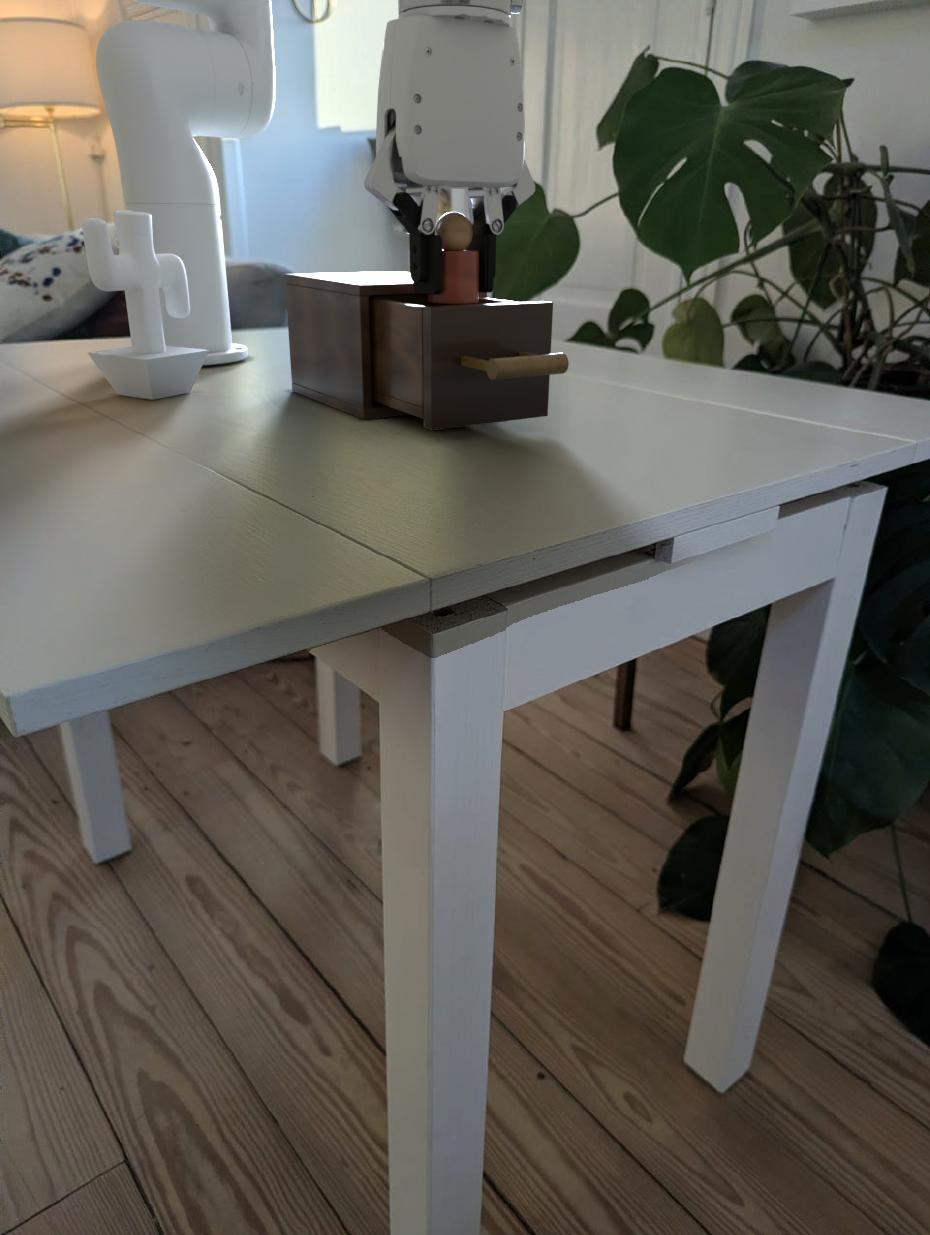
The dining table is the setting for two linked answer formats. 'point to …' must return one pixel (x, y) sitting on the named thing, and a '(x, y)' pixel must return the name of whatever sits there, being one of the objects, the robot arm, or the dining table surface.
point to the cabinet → (338, 336)
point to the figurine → (141, 308)
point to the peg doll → (457, 261)
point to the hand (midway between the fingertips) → (453, 289)
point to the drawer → (462, 359)
